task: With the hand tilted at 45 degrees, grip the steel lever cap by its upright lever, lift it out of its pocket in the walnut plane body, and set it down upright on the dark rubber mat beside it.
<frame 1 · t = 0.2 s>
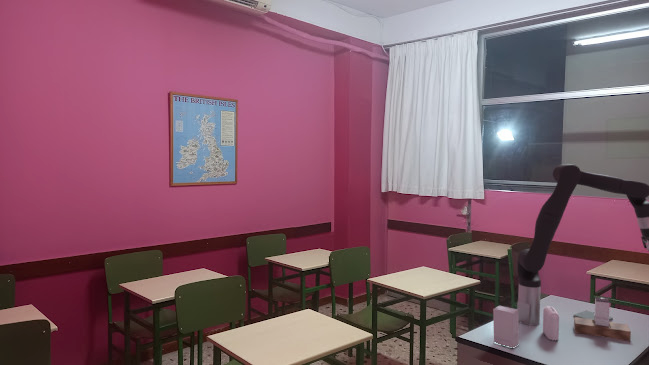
plane body: (601, 333, 195), on the table
skincare box: (505, 345, 182), on the table
rubber mat: (592, 318, 213), on the table
lever cap: (601, 326, 195), point 3 cm above the table, touching plane body
photo printer: (550, 336, 191), on the table
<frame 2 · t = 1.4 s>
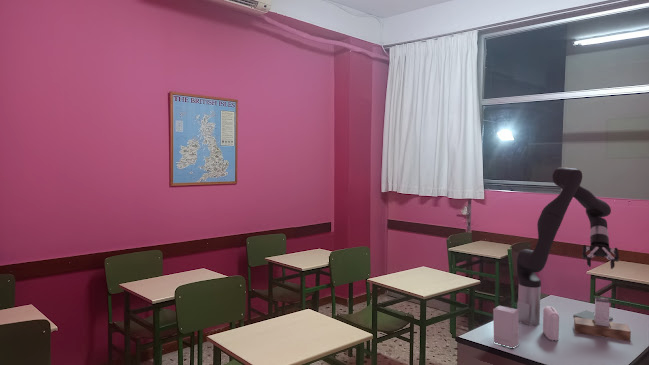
hand: (600, 266, 204), 26 cm above the table, tool tilted 45°, fingers open, 8 cm apart
nothing on the table moved.
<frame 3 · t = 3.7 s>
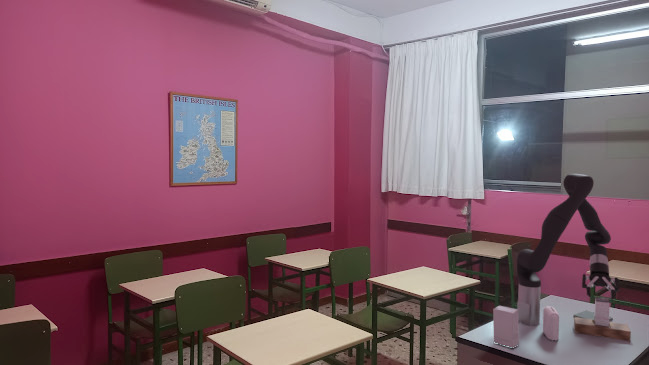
hand: (600, 297, 200), 14 cm above the table, tool tilted 45°, fingers open, 8 cm apart
nothing on the table moved.
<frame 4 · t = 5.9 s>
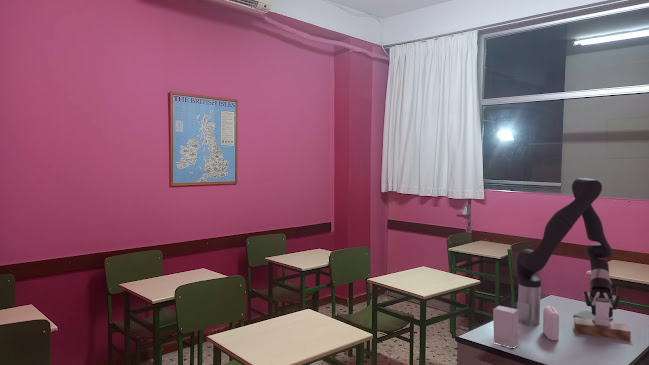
hand: (602, 315, 193), 8 cm above the table, tool tilted 45°, fingers closed on lever cap, 5 cm apart
lever cap: (601, 326, 195), point 3 cm above the table, touching gripper, plane body
everything else where it was.
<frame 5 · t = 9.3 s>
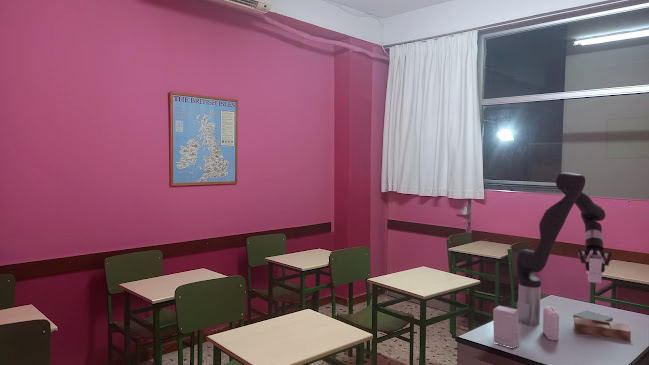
hand: (595, 271, 210), 23 cm above the table, tool tilted 45°, fingers closed on lever cap, 5 cm apart
lever cap: (594, 281, 212), point 18 cm above the table, touching gripper
everything else where it was.
when the fingers open (7 cm above the table, at t = 12.6 s): lever cap drops 1 cm, resting on rubber mat.
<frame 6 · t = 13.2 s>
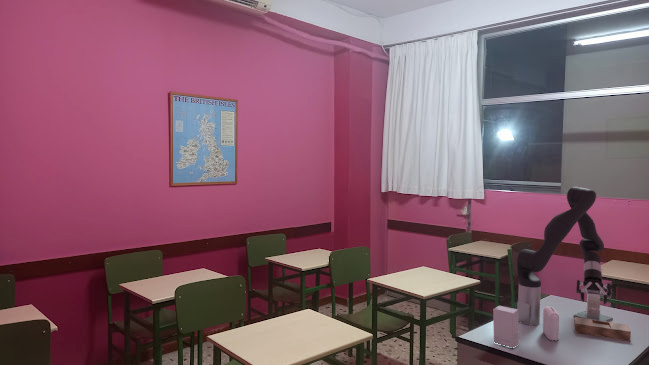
hand: (593, 302, 212), 8 cm above the table, tool tilted 45°, fingers open, 8 cm apart
lever cap: (592, 316, 213), point 1 cm above the table, touching rubber mat
everything else where it was.
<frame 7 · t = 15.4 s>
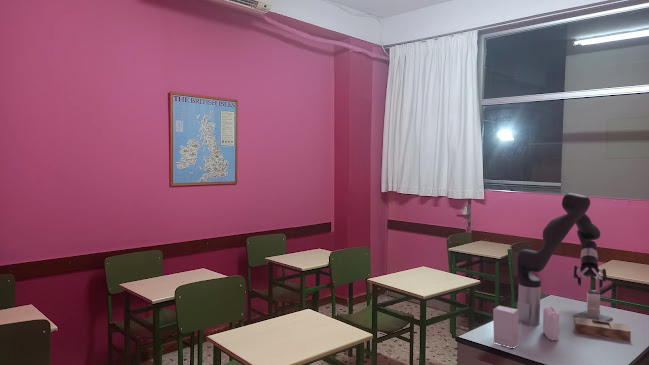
hand: (590, 286, 223), 12 cm above the table, tool tilted 45°, fingers open, 8 cm apart
nothing on the table moved.
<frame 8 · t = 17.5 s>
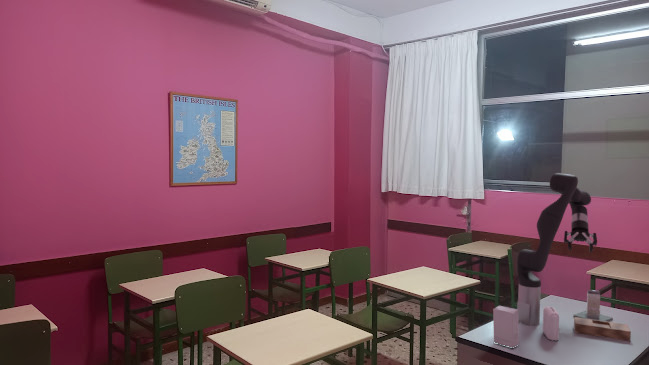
hand: (580, 250, 220), 31 cm above the table, tool tilted 45°, fingers open, 8 cm apart
nothing on the table moved.
at the end: lever cap inside the target area on the rubber mat (0.1 cm from its centre), point 1.0 cm above the rubber mat's base; lever cap tilted 0°; the gripper is holding nothing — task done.
